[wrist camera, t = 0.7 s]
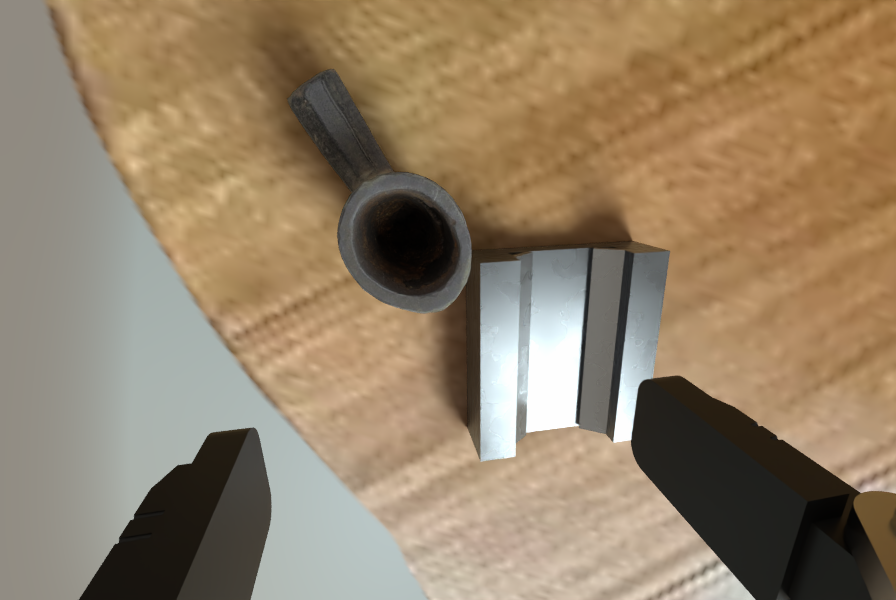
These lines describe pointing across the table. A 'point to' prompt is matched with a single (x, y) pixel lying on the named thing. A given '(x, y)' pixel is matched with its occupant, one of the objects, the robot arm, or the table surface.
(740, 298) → the table surface
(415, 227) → the pipe
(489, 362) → the v block
